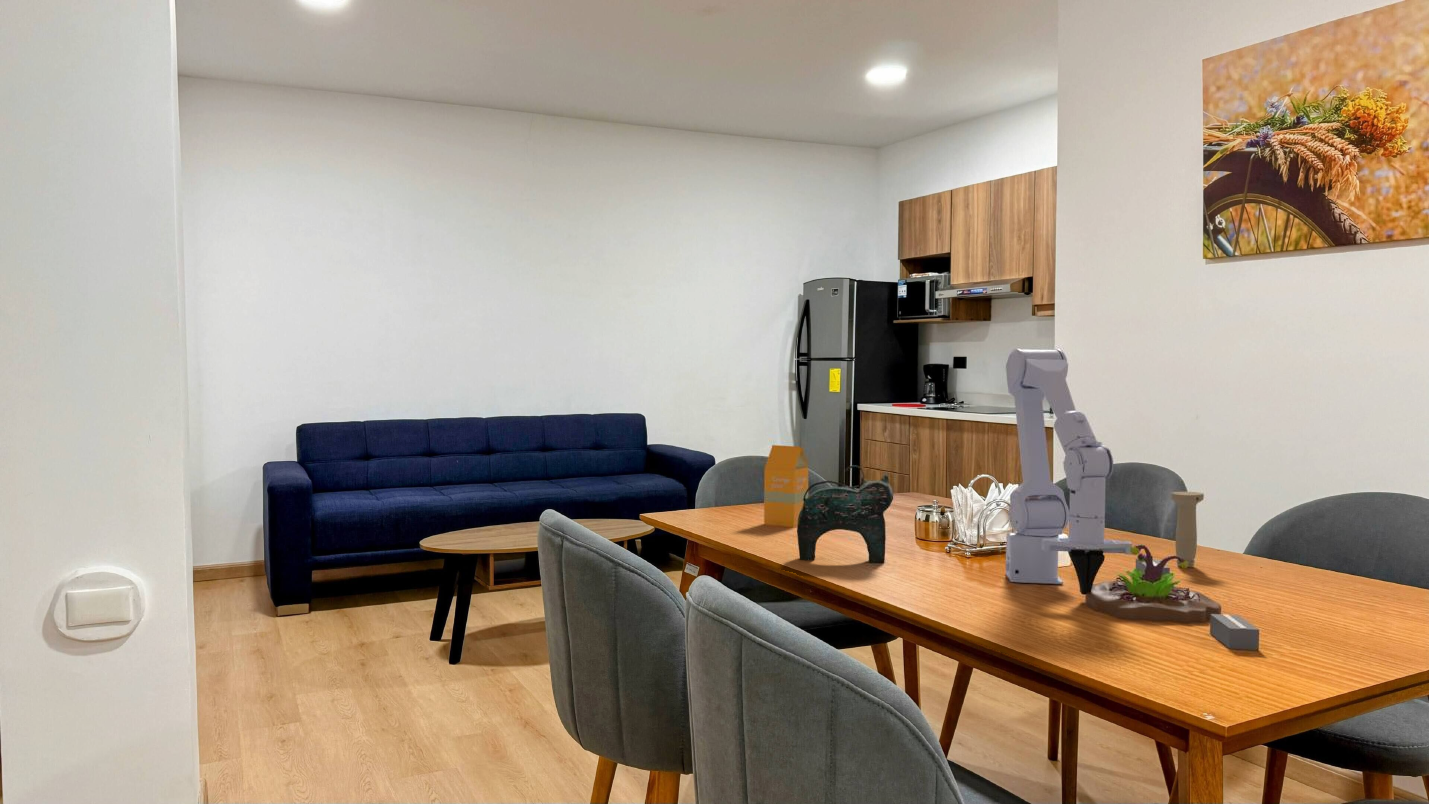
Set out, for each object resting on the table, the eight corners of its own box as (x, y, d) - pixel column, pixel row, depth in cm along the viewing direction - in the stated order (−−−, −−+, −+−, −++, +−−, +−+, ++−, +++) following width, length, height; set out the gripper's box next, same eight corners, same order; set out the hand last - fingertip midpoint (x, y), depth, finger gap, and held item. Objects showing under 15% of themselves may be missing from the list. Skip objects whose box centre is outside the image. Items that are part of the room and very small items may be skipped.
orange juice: (794, 527, 238) (794, 448, 238) (763, 524, 243) (764, 446, 242) (808, 523, 245) (809, 445, 244) (778, 520, 250) (779, 444, 249)
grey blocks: (1229, 648, 139) (1229, 627, 138) (1135, 573, 188) (1135, 557, 188) (1258, 650, 138) (1259, 629, 138) (1156, 574, 187) (1157, 558, 187)
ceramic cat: (892, 559, 201) (893, 464, 200) (893, 565, 194) (894, 468, 193) (798, 555, 204) (798, 462, 203) (795, 562, 198) (796, 466, 197)
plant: (1067, 595, 172) (1068, 533, 171) (1174, 595, 172) (1175, 533, 172) (1116, 626, 152) (1118, 556, 151) (1237, 625, 152) (1239, 556, 152)
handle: (1206, 567, 194) (1208, 494, 193) (1184, 570, 191) (1186, 495, 191) (1186, 562, 198) (1188, 491, 198) (1164, 565, 196) (1166, 492, 195)
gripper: (1047, 518, 162) (1045, 597, 163) (1137, 520, 160) (1135, 601, 160) (1040, 511, 169) (1038, 587, 170) (1126, 514, 167) (1124, 591, 167)
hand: (1085, 593), depth 166 cm, fingers closed
